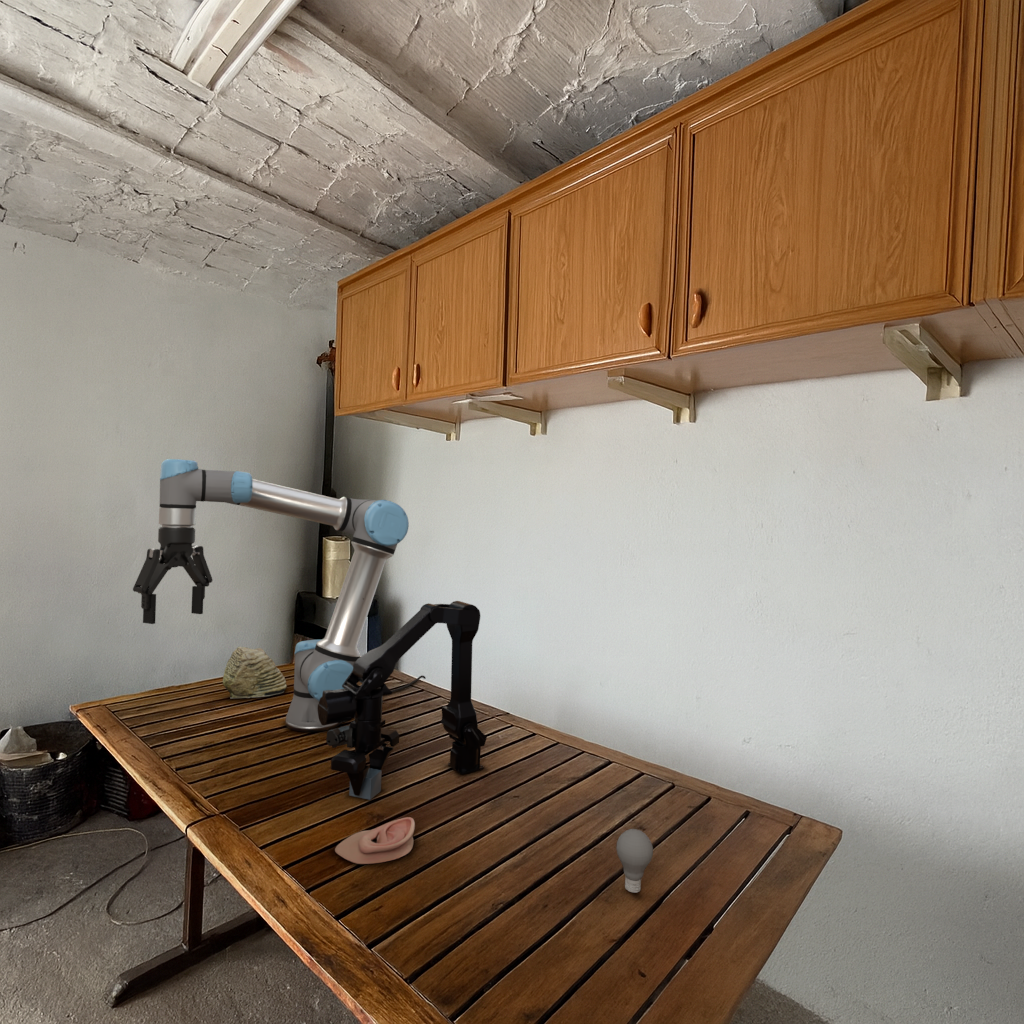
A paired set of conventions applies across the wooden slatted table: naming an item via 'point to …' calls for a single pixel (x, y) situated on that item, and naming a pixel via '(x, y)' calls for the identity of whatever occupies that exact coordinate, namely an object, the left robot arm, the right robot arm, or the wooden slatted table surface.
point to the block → (369, 785)
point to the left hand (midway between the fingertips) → (174, 618)
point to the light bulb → (634, 857)
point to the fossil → (252, 674)
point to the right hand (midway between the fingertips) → (365, 788)
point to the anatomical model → (379, 843)
